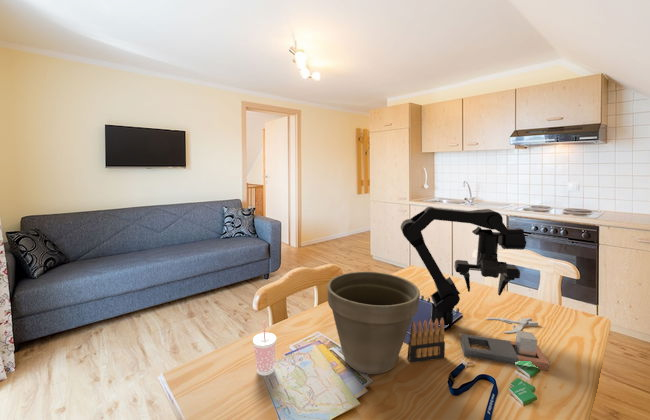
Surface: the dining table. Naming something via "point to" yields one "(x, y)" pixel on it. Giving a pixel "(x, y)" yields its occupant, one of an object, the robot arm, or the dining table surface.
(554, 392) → the dining table surface
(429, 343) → the ammunition clip
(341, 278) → the plant pot
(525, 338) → the grey metal block
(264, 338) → the beverage cup
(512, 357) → the grey copper slotted plate
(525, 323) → the pliers
